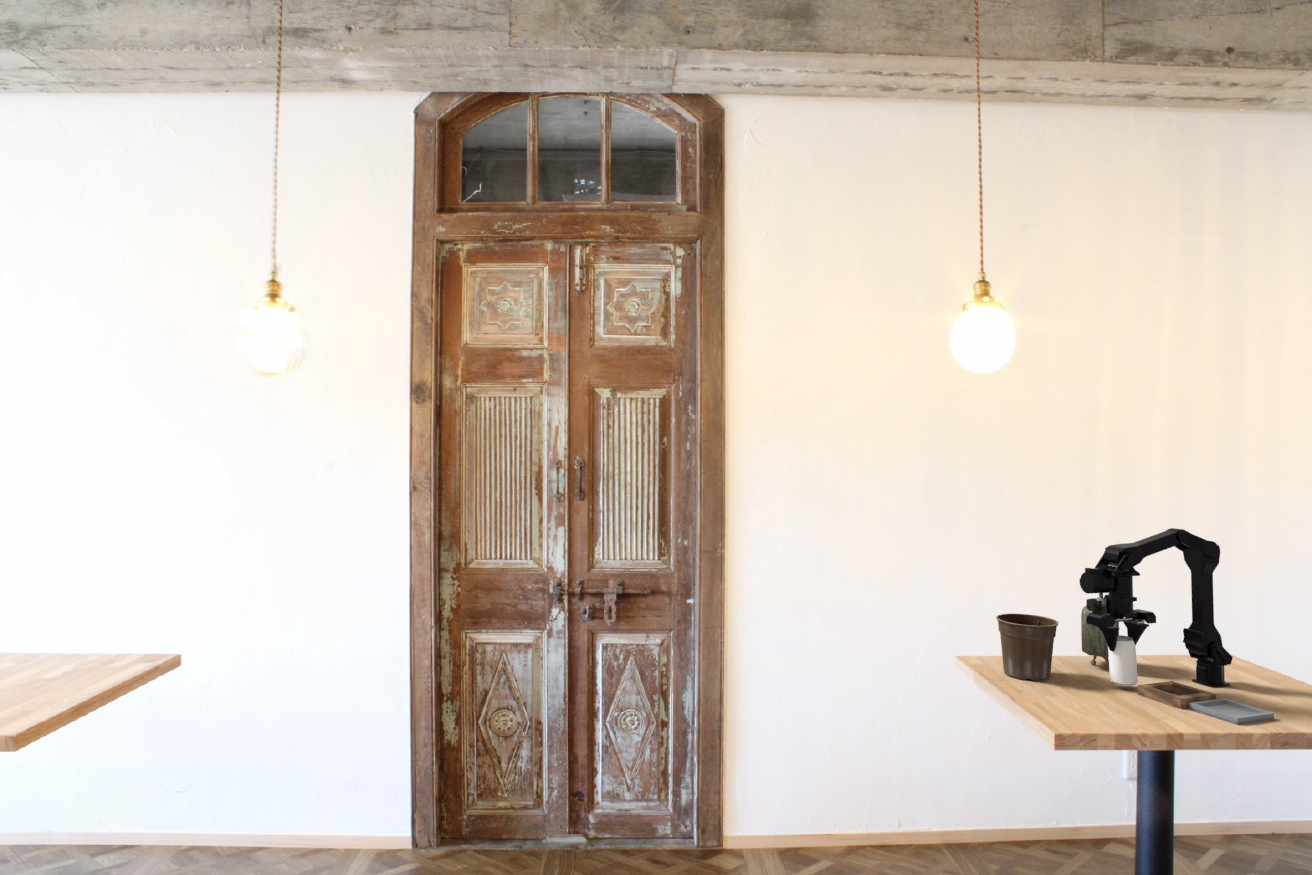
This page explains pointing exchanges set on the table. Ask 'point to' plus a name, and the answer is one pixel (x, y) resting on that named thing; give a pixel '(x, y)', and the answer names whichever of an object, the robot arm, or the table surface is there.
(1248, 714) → the tray
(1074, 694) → the table surface
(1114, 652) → the can
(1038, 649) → the plant pot
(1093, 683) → the table surface
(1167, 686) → the wooden square frame
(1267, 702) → the table surface
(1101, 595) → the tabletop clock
